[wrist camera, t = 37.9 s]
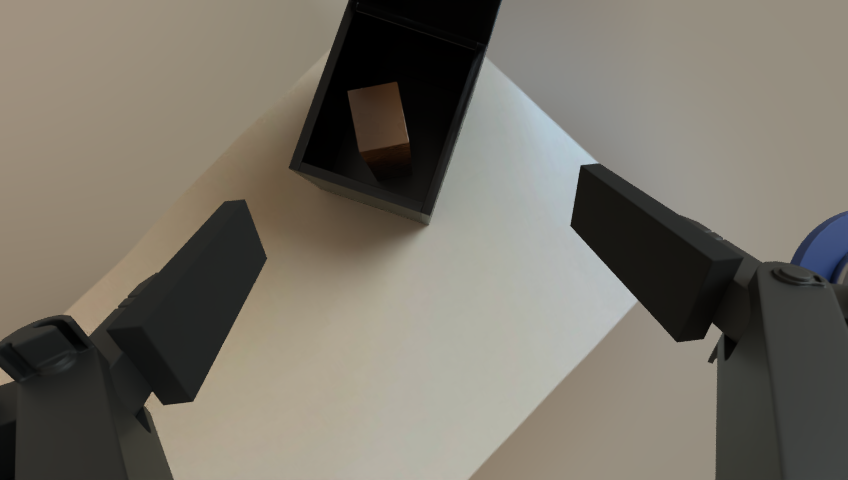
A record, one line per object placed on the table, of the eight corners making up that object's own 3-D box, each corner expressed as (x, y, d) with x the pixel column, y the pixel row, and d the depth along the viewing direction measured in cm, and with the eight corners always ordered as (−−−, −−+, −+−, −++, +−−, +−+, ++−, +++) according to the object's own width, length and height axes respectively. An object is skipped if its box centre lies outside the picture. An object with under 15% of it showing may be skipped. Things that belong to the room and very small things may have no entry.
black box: (428, 225, 39) (430, 216, 30) (320, 188, 39) (288, 168, 30) (473, 93, 40) (488, 44, 30) (366, 58, 40) (349, -3, 31)
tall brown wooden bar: (404, 130, 39) (397, 81, 28) (413, 174, 38) (409, 142, 27) (368, 137, 39) (347, 90, 28) (377, 181, 38) (359, 152, 27)
